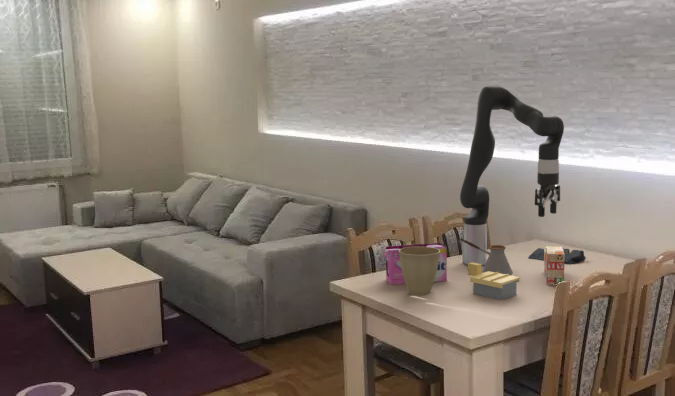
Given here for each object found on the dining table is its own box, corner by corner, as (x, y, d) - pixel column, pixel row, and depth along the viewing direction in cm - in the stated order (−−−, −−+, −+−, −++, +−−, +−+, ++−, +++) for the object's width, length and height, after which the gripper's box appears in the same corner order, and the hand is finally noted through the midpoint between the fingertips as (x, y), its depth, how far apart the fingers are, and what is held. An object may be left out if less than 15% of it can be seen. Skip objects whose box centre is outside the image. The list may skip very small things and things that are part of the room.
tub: (473, 295, 256) (473, 278, 255) (488, 290, 262) (488, 274, 261) (501, 301, 247) (501, 284, 246) (516, 296, 253) (516, 279, 252)
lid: (461, 279, 258) (461, 265, 257) (479, 274, 265) (479, 260, 264) (501, 288, 245) (501, 273, 244) (519, 282, 253) (519, 267, 252)
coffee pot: (516, 277, 278) (516, 239, 276) (507, 284, 268) (507, 245, 266) (464, 271, 289) (464, 235, 287) (453, 278, 279) (453, 240, 277)
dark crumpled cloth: (541, 253, 320) (541, 242, 320) (589, 259, 306) (589, 248, 305) (525, 259, 309) (525, 248, 308) (574, 266, 294) (574, 255, 294)
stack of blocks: (543, 271, 287) (544, 241, 285) (559, 271, 285) (560, 241, 284) (546, 285, 266) (547, 253, 265) (564, 285, 265) (564, 253, 263)
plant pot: (430, 301, 250) (429, 256, 248) (392, 295, 258) (391, 252, 256) (447, 290, 263) (446, 248, 260) (410, 285, 270) (410, 244, 268)
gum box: (387, 285, 272) (386, 250, 271) (382, 280, 280) (381, 246, 278) (447, 280, 277) (447, 246, 275) (441, 275, 284) (440, 242, 282)
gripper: (548, 168, 269) (547, 211, 271) (528, 172, 259) (528, 216, 262) (567, 170, 264) (566, 213, 266) (547, 174, 254) (546, 218, 256)
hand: (547, 215), depth 264 cm, fingers open, 8 cm apart
